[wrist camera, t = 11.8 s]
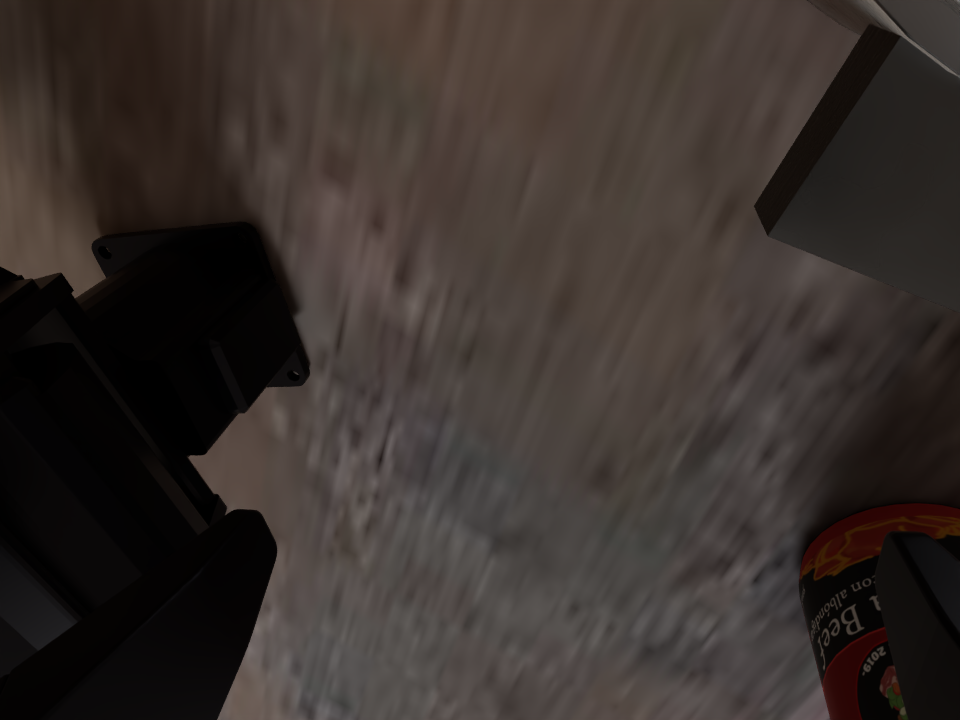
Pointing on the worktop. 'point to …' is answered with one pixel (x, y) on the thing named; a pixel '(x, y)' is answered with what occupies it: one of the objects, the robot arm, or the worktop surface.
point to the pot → (881, 153)
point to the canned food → (861, 606)
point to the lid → (953, 5)
